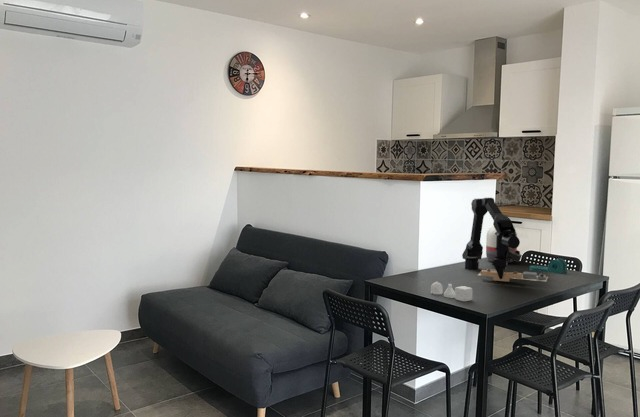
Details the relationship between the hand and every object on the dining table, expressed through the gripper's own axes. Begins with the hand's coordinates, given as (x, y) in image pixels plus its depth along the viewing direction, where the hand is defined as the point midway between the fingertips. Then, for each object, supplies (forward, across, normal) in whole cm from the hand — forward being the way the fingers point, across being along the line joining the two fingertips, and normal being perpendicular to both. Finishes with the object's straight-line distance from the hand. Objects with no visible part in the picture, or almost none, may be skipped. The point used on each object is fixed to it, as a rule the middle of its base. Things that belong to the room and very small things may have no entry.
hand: (501, 277), depth 250 cm
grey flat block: (+2, +16, -13) cm, 21 cm away
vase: (+3, +61, +9) cm, 62 cm away
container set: (+3, -36, +16) cm, 40 cm away
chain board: (+3, +16, -3) cm, 17 cm away
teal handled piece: (+3, +40, -17) cm, 44 cm away
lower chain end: (+2, +16, +7) cm, 18 cm away
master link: (+1, 0, 0) cm, 1 cm away
